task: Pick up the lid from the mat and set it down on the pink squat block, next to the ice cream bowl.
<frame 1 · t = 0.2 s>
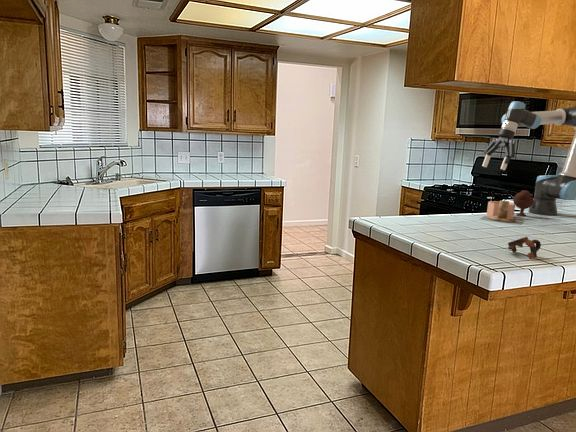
hand: (493, 168, 243), 27 cm above the counter, tool tilted 15°, fingers open, 13 cm apart
lid: (501, 220, 238), point 1 cm above the counter, touching mat
pink squat block: (499, 217, 250), on the counter
mat: (501, 221, 238), on the counter
ice cream bowl: (521, 216, 259), on the counter
brown curved piece: (524, 256, 168), on the counter
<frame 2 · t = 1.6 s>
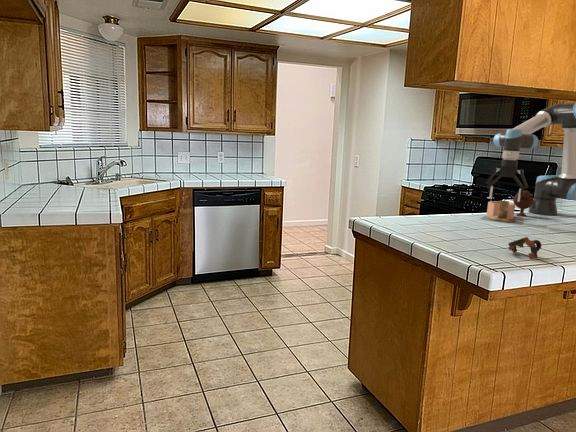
hand: (504, 199, 236), 12 cm above the counter, tool pointing down, fingers open, 13 cm apart
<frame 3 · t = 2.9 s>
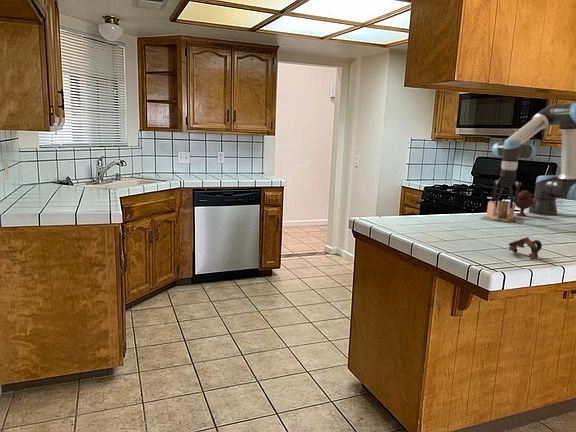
hand: (502, 213, 237), 4 cm above the counter, tool pointing down, fingers closed on lid, 4 cm apart
lid: (501, 220, 238), point 1 cm above the counter, touching pink squat block, gripper, mat
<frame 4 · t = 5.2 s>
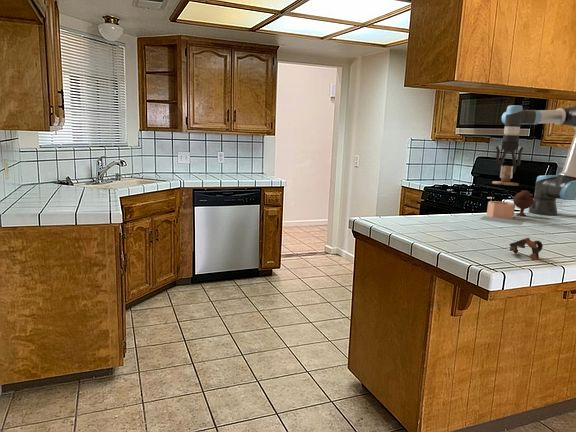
hand: (505, 177, 246), 22 cm above the counter, tool pointing down, fingers closed on lid, 4 cm apart
lid: (505, 184, 246), point 19 cm above the counter, touching gripper
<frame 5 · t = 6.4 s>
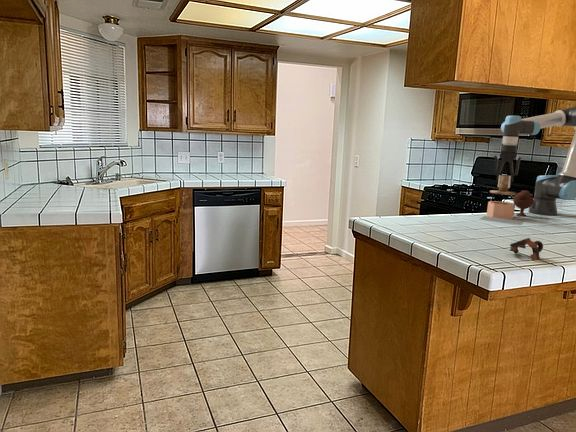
hand: (503, 187, 247), 17 cm above the counter, tool pointing down, fingers closed on lid, 4 cm apart
lid: (502, 193, 248), point 13 cm above the counter, touching gripper
when the fingers open (13 cm above the counter, at t = 7.4 s): lid drops 1 cm, resting on pink squat block.
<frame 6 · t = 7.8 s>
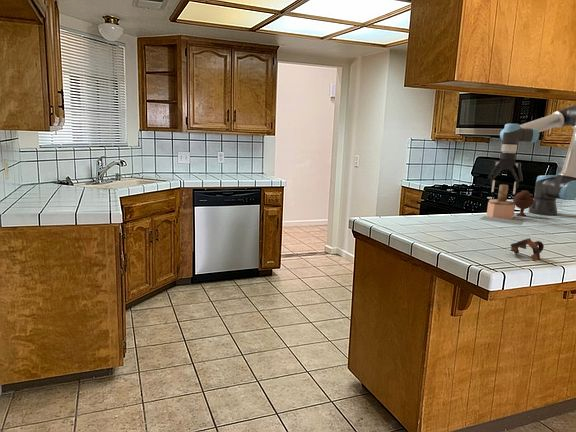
hand: (503, 192, 248), 14 cm above the counter, tool pointing down, fingers open, 10 cm apart
lid: (501, 203, 249), point 8 cm above the counter, touching pink squat block
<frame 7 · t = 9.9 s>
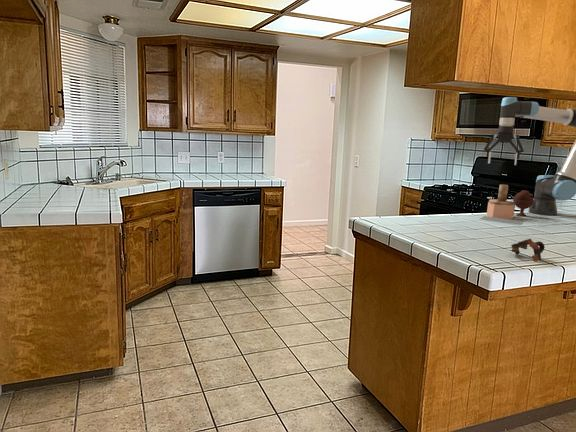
hand: (501, 164, 253), 29 cm above the counter, tool pointing down, fingers open, 13 cm apart
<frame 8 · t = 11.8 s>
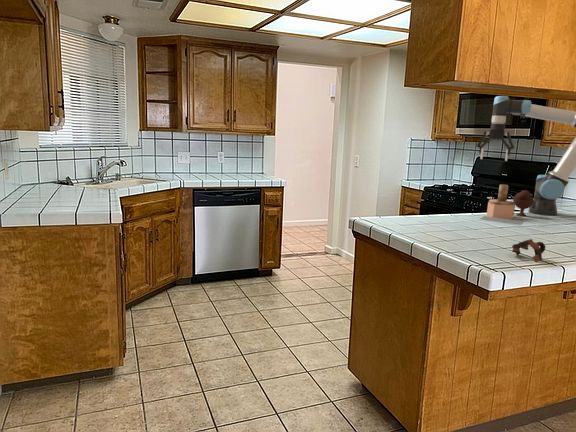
hand: (493, 160, 265), 31 cm above the counter, tool pointing down, fingers open, 13 cm apart
at the end: lid 0.5 cm from the pink squat block (horizontally); lid point 8.0 cm above the counter; the gripper is holding nothing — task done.
